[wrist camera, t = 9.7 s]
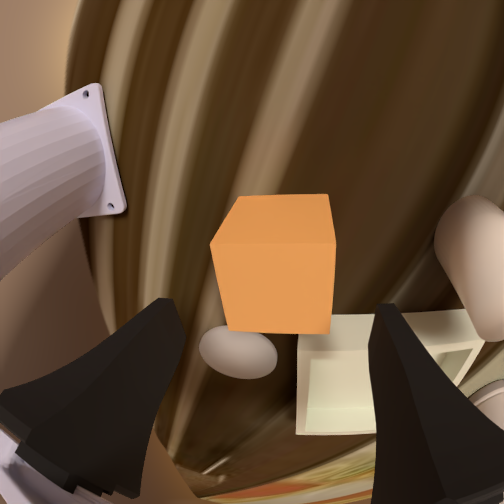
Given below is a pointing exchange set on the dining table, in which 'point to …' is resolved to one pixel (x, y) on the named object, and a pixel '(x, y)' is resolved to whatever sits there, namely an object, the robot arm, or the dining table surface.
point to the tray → (357, 367)
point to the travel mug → (491, 403)
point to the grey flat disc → (238, 353)
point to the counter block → (277, 264)
